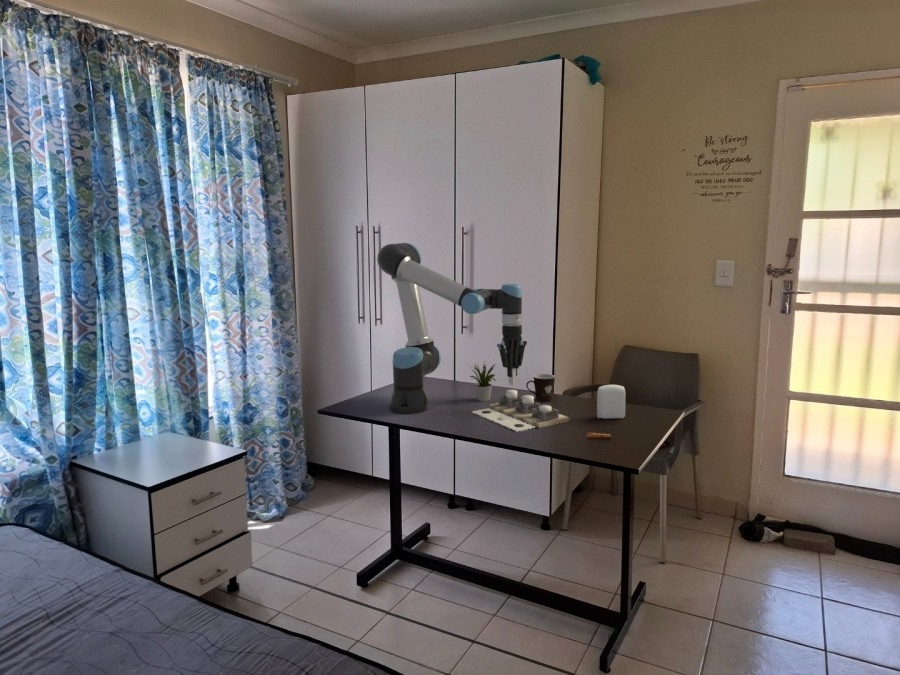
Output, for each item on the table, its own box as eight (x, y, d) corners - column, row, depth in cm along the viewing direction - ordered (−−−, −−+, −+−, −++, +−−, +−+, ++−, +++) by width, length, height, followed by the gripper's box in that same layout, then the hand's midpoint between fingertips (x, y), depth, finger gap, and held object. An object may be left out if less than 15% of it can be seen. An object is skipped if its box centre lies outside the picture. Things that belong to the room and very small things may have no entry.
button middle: (519, 405, 239) (519, 396, 238) (528, 403, 241) (528, 394, 241) (527, 408, 235) (527, 398, 235) (536, 406, 238) (536, 397, 237)
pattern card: (471, 412, 242) (471, 411, 242) (488, 409, 246) (488, 407, 246) (517, 432, 219) (517, 430, 219) (535, 428, 223) (535, 426, 223)
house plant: (461, 404, 254) (461, 364, 251) (464, 395, 268) (464, 357, 265) (497, 405, 252) (497, 364, 249) (498, 395, 266) (498, 357, 263)
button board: (489, 408, 248) (489, 397, 247) (517, 402, 255) (517, 391, 254) (539, 428, 223) (539, 415, 222) (569, 421, 230) (569, 409, 229)
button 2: (536, 415, 231) (536, 406, 230) (545, 413, 233) (546, 404, 233) (544, 418, 227) (544, 409, 227) (553, 416, 230) (554, 407, 229)
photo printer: (598, 419, 232) (599, 386, 230) (595, 415, 236) (596, 383, 234) (626, 419, 232) (627, 386, 230) (623, 415, 236) (624, 383, 234)
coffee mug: (553, 397, 262) (554, 373, 261) (555, 403, 254) (555, 378, 252) (525, 397, 263) (525, 373, 262) (526, 402, 255) (526, 378, 253)
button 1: (503, 399, 247) (503, 390, 247) (512, 397, 250) (512, 389, 249) (510, 401, 244) (510, 393, 243) (519, 400, 246) (519, 391, 245)
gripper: (504, 327, 235) (504, 389, 239) (531, 324, 242) (531, 384, 246) (492, 325, 241) (493, 385, 245) (519, 321, 248) (519, 380, 252)
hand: (512, 384), depth 245 cm, fingers closed
